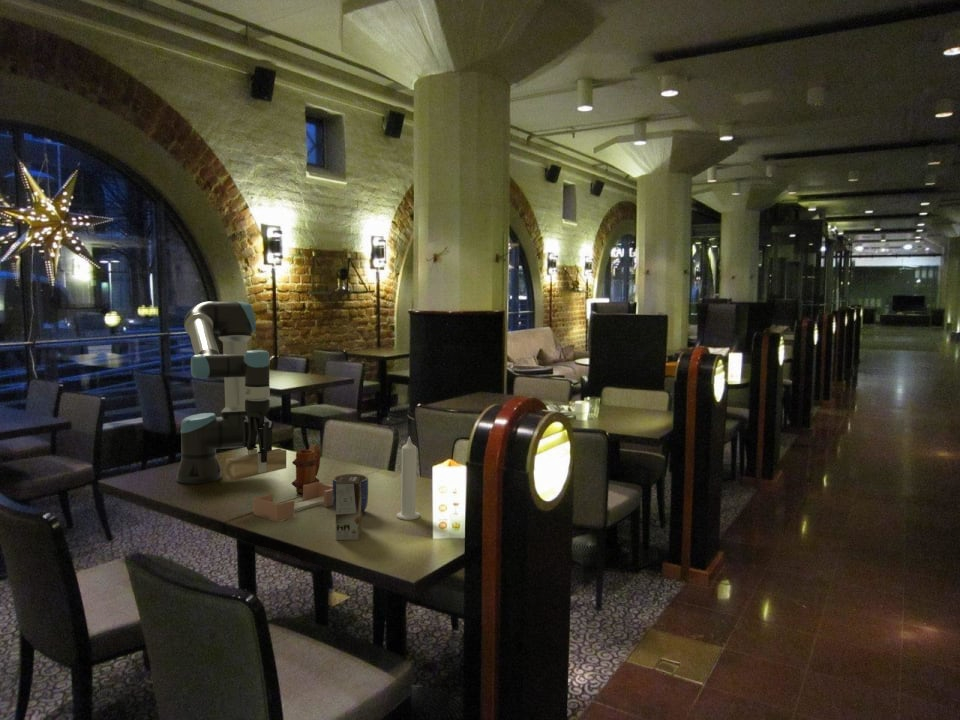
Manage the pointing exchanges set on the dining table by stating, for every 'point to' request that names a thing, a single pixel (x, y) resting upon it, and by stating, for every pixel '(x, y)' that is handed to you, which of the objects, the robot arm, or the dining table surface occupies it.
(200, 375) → the robot arm
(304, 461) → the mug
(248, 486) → the dining table surface
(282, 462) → the tan wooden beam
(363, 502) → the planter
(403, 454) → the candle
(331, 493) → the endcap rail
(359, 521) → the coffee box
